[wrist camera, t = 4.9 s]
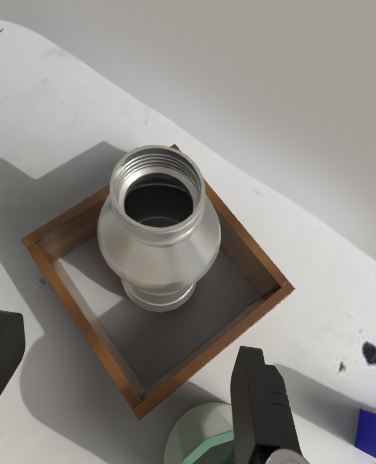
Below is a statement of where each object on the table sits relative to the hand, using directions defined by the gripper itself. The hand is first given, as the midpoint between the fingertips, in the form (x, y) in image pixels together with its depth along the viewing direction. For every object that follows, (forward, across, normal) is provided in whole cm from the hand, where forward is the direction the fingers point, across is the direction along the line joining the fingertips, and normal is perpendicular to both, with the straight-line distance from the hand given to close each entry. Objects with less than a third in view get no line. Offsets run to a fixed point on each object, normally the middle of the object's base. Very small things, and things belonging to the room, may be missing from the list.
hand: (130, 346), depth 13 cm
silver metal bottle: (+17, 0, +9) cm, 20 cm away
